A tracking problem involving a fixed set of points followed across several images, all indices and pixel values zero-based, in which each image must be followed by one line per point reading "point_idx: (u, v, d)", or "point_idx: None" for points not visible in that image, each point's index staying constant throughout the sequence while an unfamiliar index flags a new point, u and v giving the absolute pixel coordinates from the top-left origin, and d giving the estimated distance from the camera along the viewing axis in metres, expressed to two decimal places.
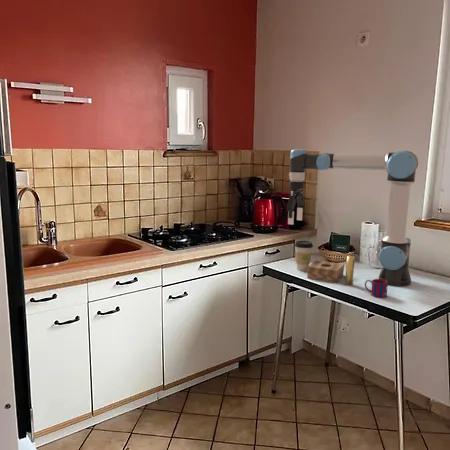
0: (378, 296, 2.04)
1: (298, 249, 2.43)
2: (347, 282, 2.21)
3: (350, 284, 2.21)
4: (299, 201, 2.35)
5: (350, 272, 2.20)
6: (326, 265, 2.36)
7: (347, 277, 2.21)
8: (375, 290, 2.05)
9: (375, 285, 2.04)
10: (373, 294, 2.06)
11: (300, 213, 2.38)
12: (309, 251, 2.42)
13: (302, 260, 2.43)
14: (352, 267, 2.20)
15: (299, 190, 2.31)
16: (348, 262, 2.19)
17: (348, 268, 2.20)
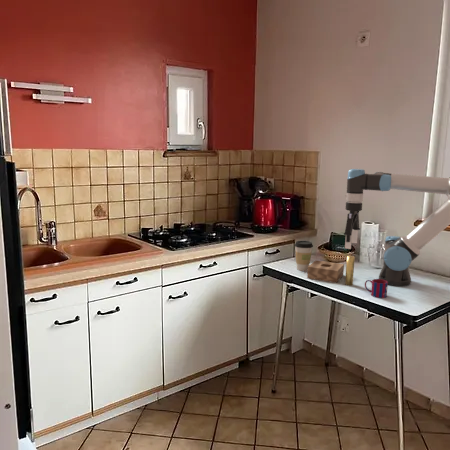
0: (378, 296, 2.04)
1: (298, 249, 2.43)
2: (347, 282, 2.21)
3: (350, 284, 2.21)
4: (355, 223, 2.21)
5: (350, 272, 2.20)
6: (326, 265, 2.36)
7: (347, 277, 2.21)
8: (375, 290, 2.05)
9: (375, 285, 2.04)
10: (373, 294, 2.06)
11: (355, 236, 2.24)
12: (309, 251, 2.42)
13: (302, 260, 2.43)
14: (352, 267, 2.20)
15: (356, 212, 2.17)
16: (348, 262, 2.19)
17: (348, 268, 2.20)
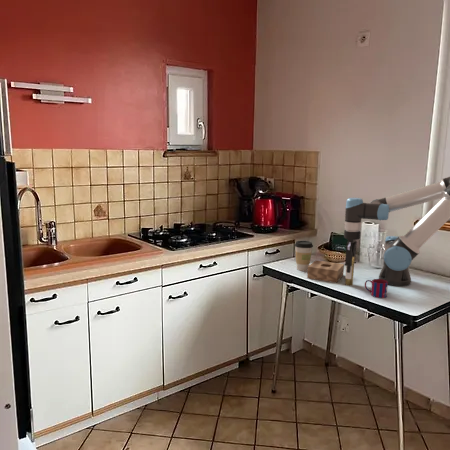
0: (378, 296, 2.04)
1: (298, 249, 2.43)
2: (347, 282, 2.21)
3: (350, 284, 2.21)
4: None
5: None
6: (326, 265, 2.36)
7: None
8: (375, 290, 2.05)
9: (375, 285, 2.04)
10: (373, 294, 2.06)
11: None
12: (309, 251, 2.42)
13: (302, 260, 2.43)
14: (352, 267, 2.20)
15: None
16: None
17: None
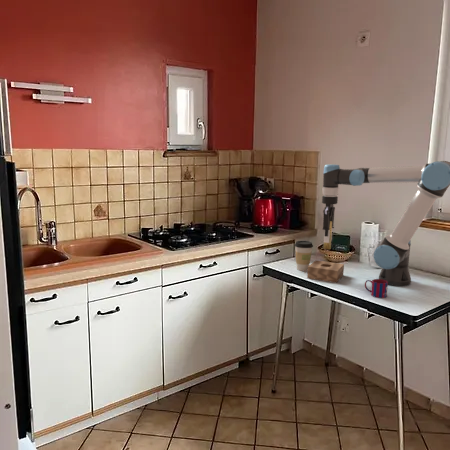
0: (378, 296, 2.04)
1: (298, 249, 2.43)
2: (325, 246, 2.31)
3: (328, 248, 2.30)
4: (330, 218, 2.31)
5: None
6: (326, 265, 2.36)
7: None
8: (375, 290, 2.05)
9: (375, 285, 2.04)
10: (373, 294, 2.06)
11: None
12: (309, 251, 2.42)
13: (302, 260, 2.43)
14: (330, 231, 2.29)
15: (332, 204, 2.29)
16: None
17: None
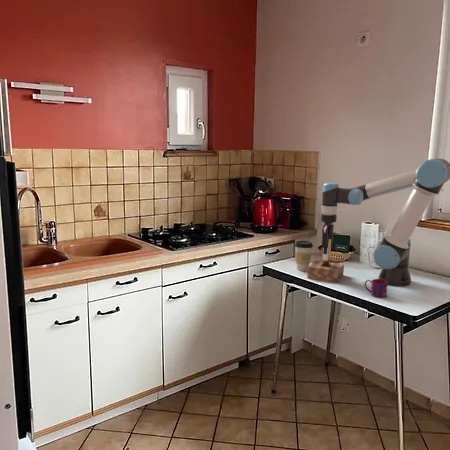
0: (378, 296, 2.04)
1: (298, 249, 2.43)
2: (324, 263, 2.32)
3: (327, 265, 2.32)
4: (328, 236, 2.32)
5: None
6: None
7: None
8: (375, 290, 2.05)
9: (375, 285, 2.04)
10: (373, 294, 2.06)
11: None
12: (309, 251, 2.42)
13: (302, 260, 2.43)
14: None
15: None
16: None
17: None
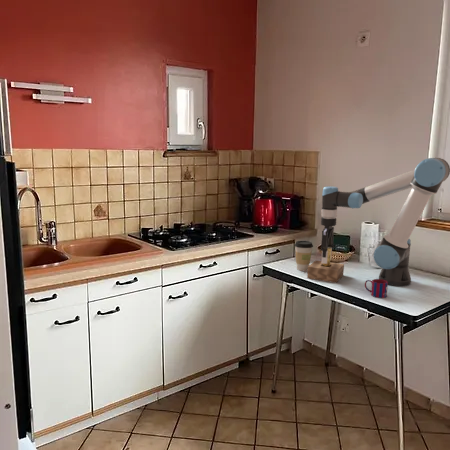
0: (378, 296, 2.04)
1: (298, 249, 2.43)
2: None
3: None
4: (329, 239, 2.34)
5: None
6: None
7: None
8: (375, 290, 2.05)
9: (375, 285, 2.04)
10: (373, 294, 2.06)
11: None
12: (309, 251, 2.42)
13: (302, 260, 2.43)
14: (328, 258, 2.31)
15: (331, 225, 2.31)
16: None
17: None
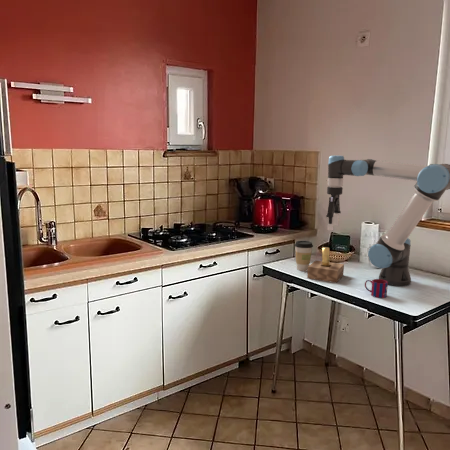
0: (378, 296, 2.04)
1: (298, 249, 2.43)
2: None
3: None
4: (336, 206, 2.36)
5: (325, 263, 2.32)
6: None
7: None
8: (375, 290, 2.05)
9: (375, 285, 2.04)
10: (373, 294, 2.06)
11: (336, 219, 2.39)
12: (309, 251, 2.42)
13: (302, 260, 2.43)
14: (327, 258, 2.31)
15: (337, 196, 2.32)
16: (324, 254, 2.31)
17: (324, 259, 2.32)
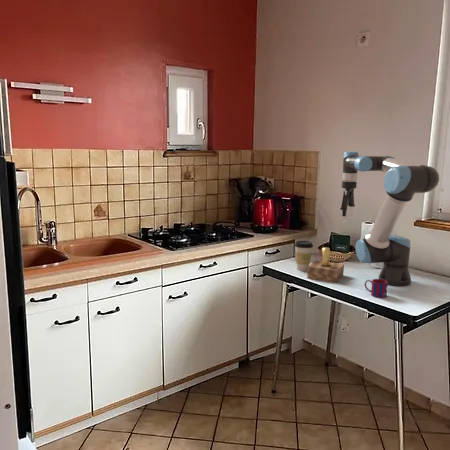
0: (378, 296, 2.04)
1: (298, 249, 2.43)
2: None
3: None
4: (350, 200, 2.48)
5: (326, 263, 2.32)
6: None
7: None
8: (375, 290, 2.05)
9: (375, 285, 2.04)
10: (373, 294, 2.06)
11: (350, 212, 2.51)
12: (309, 251, 2.42)
13: (302, 260, 2.43)
14: (328, 258, 2.31)
15: (351, 190, 2.44)
16: (324, 254, 2.31)
17: (324, 259, 2.32)
